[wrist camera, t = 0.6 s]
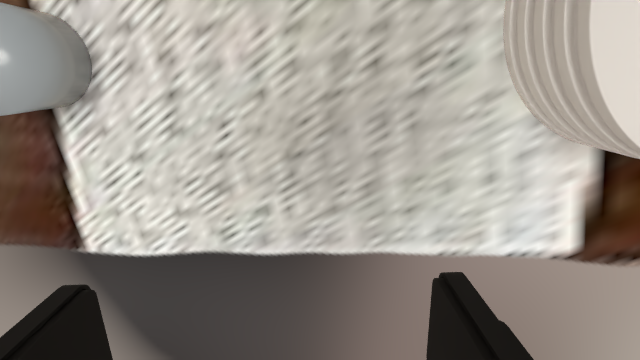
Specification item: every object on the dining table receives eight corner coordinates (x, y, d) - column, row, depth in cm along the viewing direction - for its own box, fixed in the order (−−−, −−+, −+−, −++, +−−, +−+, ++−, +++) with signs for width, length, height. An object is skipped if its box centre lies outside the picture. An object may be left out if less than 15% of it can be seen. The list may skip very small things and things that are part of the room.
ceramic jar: (-15, 11, 33) (-98, -5, 26) (82, 11, 33) (24, -5, 27) (10, 107, 36) (-60, 116, 29) (99, 107, 36) (51, 115, 29)
